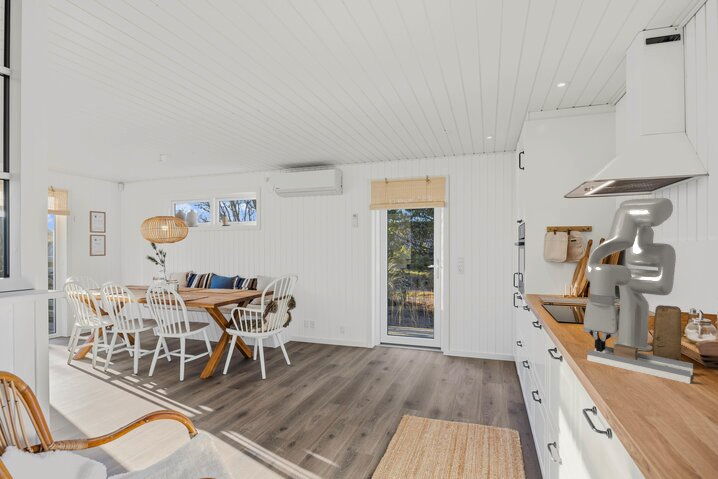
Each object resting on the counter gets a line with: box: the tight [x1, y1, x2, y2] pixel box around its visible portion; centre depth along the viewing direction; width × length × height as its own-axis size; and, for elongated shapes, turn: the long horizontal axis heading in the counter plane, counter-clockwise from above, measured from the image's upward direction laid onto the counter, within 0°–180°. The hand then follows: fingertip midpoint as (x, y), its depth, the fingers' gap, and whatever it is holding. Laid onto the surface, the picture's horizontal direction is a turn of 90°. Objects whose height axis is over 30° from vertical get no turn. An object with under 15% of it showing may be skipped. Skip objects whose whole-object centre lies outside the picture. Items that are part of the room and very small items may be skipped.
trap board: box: [586, 345, 694, 385], centre depth 125 cm, size 12×27×4 cm, turn 45°
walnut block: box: [613, 344, 639, 360], centre depth 127 cm, size 5×6×4 cm
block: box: [652, 304, 682, 361], centre depth 130 cm, size 11×8×20 cm
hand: (599, 350), depth 133 cm, fingers closed
